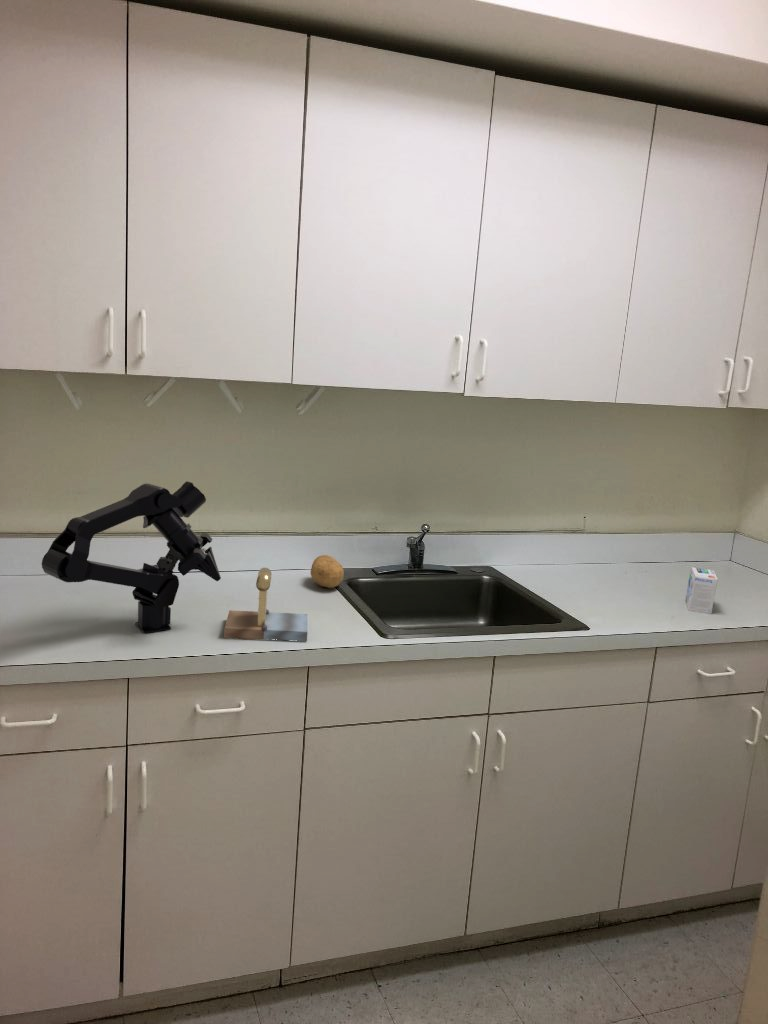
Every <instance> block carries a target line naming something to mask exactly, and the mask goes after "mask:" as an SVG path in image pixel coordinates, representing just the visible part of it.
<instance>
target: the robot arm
mask: <svg viewBox="0 0 768 1024" xmlns="http://www.w3.org/2000/svg"><path fill="white" fill-rule="evenodd" d="M206 502H207V498H206V496H205V494H204V493H203V492H202V491H201V489H199V488H198V487H197V486H195V485H194V483H193V482H191V481H187V480H186V481H185V482H184V483H183V484H182V485H181V486H180V487H179V488H178V489H177V490H176V491H175V492H173V494H172V493H171V492H170V491H169V489H167V488H165V487H162V486H159V485H155V484H151V483H143V484H141V485H139V486H138V487H136V488H135V489H133V490H132V491H131V492H130V493H129V494H128V496H126V497H125V498H123V499H121V500H118V501H116V502H113V503H111V504H109V505H106V506H103V507H101V508H99V509H96V510H94V511H92V512H89V513H86V514H84V515H81V516H78V517H73V518H71V519H70V520H69V521H68V523H67V525H66V526H65V528H64V530H63V531H62V532H61V533H60V534H59V535H58V536H57V537H56V538H55V539H54V540H53V541H52V542H51V545H50V546H49V548H48V550H47V552H46V553H45V554H44V556H43V557H42V560H41V568H42V570H43V573H44V574H47V575H49V576H51V577H54V578H56V579H58V580H60V581H63V582H64V583H83V582H86V581H95V582H102V583H108V584H113V585H114V584H115V585H121V586H126V587H131V588H134V589H133V590H132V596H133V599H134V601H135V600H136V601H137V603H138V604H137V605H138V606H137V621H136V622H135V623H134V625H135V626H136V627H137V628H138V629H139V630H140V631H141V632H142V633H144V634H148V633H155V632H161V631H162V632H163V631H168V630H171V629H172V627H171V617H172V616H171V615H172V614H171V613H172V611H171V610H172V608H171V606H172V605H174V602H175V599H176V596H177V593H178V590H179V586H180V580H179V577H178V576H177V575H176V574H174V569H175V567H176V565H177V571H178V572H179V573H180V574H181V575H182V576H186V575H187V574H189V573H190V571H195V570H197V571H199V572H202V573H203V574H205V575H206V576H208V577H209V578H211V579H213V580H214V581H216V582H219V581H220V580H221V578H222V577H221V574H220V571H219V568H218V565H217V562H216V559H215V556H214V552H213V548H212V546H209V547H208V548H207V549H206V548H205V546H206V545H208V543H209V544H210V543H212V541H213V538H212V537H211V536H210V534H208V533H206V532H201V533H200V534H198V535H196V534H195V532H194V531H193V530H192V529H191V528H192V525H191V524H190V523H186V522H185V521H184V520H183V517H184V518H185V519H186V518H190V517H191V516H192V515H193V514H194V513H195V512H196V511H198V509H200V508H201V507H202V506H203V505H205V504H206ZM138 517H143V518H142V519H143V524H142V528H143V529H146V528H147V529H148V528H149V527H151V526H152V525H153V526H154V528H155V529H156V531H158V533H160V534H161V536H163V538H164V539H165V540H166V541H167V543H166V546H167V547H168V551H167V553H166V554H165V556H160V557H159V559H158V560H157V562H156V564H154V565H151V564H148V563H145V562H143V564H142V568H140V569H136V568H131V567H125V566H120V565H114V564H109V563H103V562H97V561H94V560H89V559H88V558H89V555H90V550H91V549H90V548H91V541H92V539H93V538H94V535H97V534H99V533H102V532H104V531H107V530H109V529H111V528H114V527H116V526H118V525H121V524H123V523H125V522H127V521H130V520H132V519H134V518H138ZM72 544H73V545H74V546H73V551H72V552H68V551H67V550H68V548H69V547H70V546H72ZM178 561H179V562H178Z"/></svg>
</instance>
